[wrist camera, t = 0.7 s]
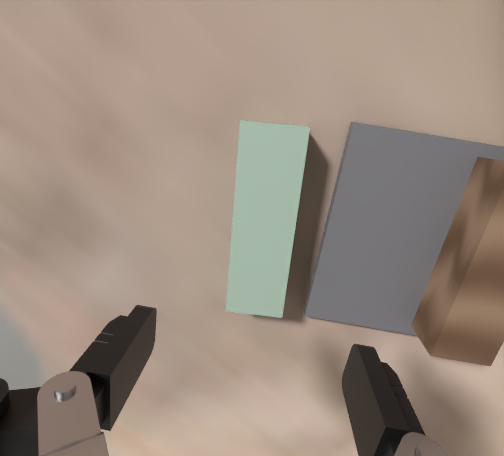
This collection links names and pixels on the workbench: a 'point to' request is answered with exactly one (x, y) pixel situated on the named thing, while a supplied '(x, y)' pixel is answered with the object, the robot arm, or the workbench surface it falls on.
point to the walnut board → (469, 275)
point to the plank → (264, 215)
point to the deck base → (388, 224)
